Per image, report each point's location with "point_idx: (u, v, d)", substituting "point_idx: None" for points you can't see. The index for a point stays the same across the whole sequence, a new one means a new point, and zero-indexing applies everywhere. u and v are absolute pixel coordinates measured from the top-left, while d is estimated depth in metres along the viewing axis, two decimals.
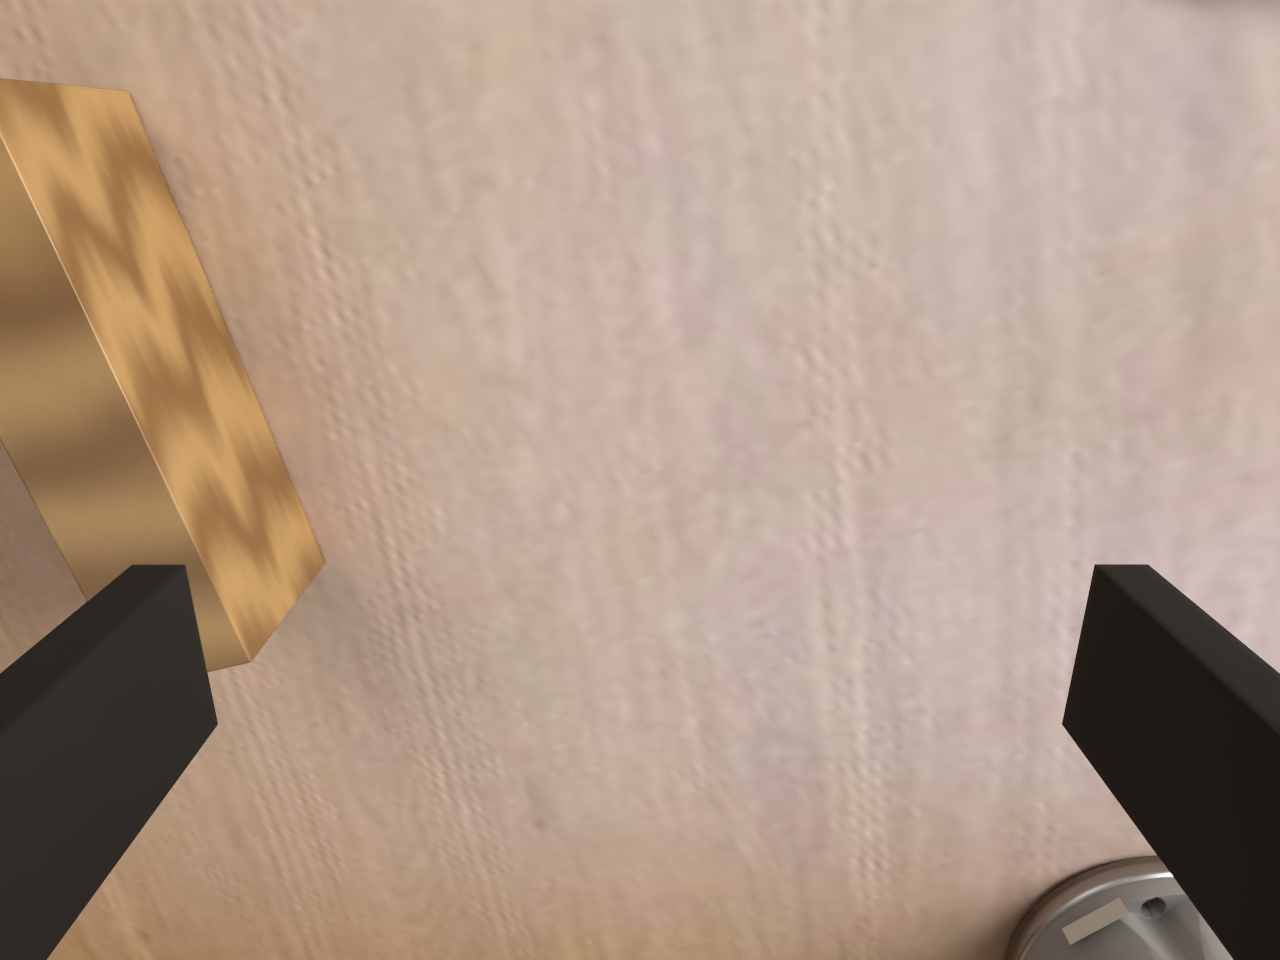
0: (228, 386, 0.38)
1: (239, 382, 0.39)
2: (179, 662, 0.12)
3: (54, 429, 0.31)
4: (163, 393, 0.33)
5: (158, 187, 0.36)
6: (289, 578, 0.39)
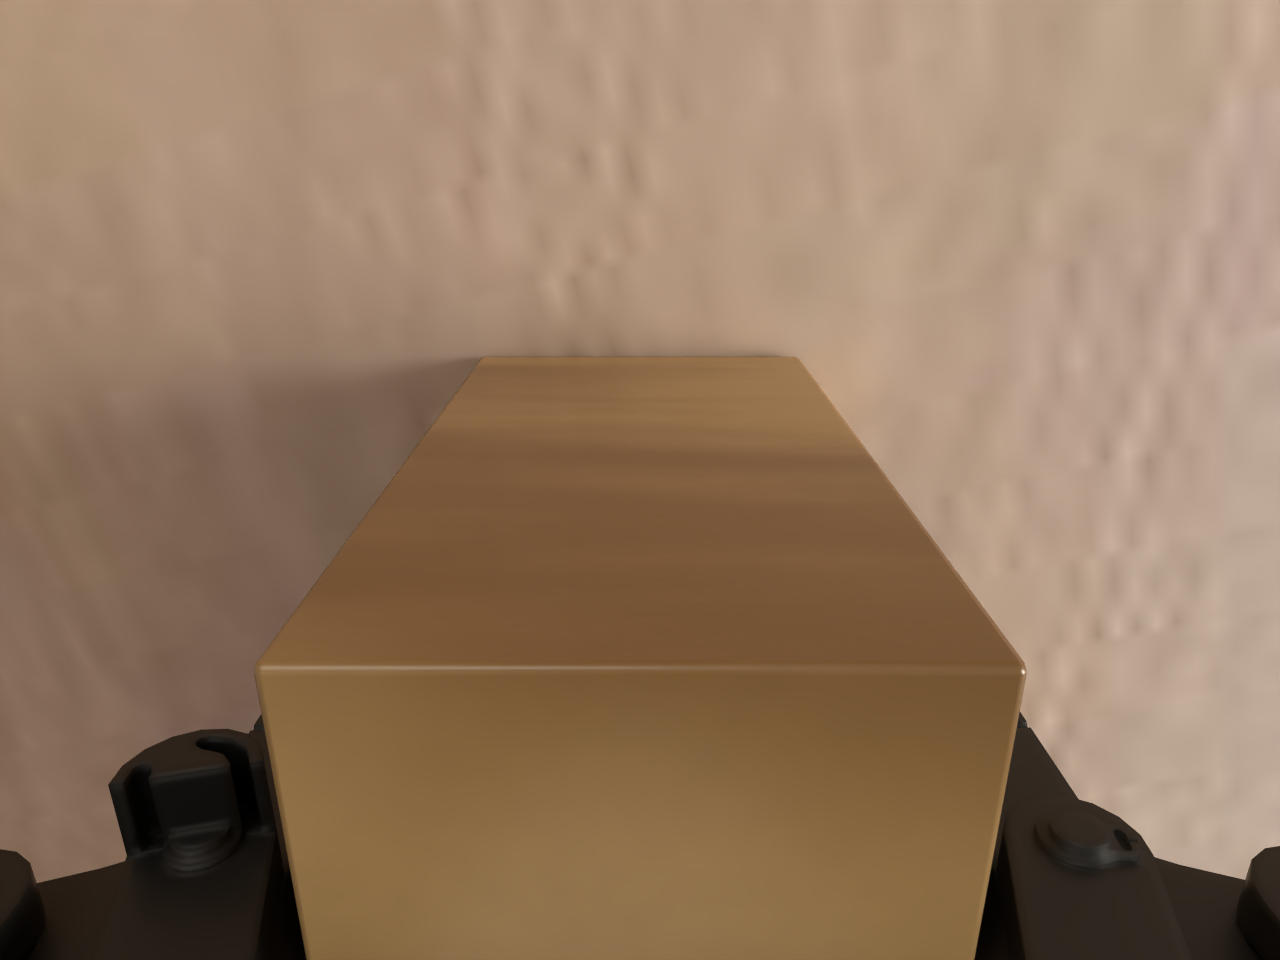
0: None
1: None
2: None
3: None
4: None
5: None
6: None
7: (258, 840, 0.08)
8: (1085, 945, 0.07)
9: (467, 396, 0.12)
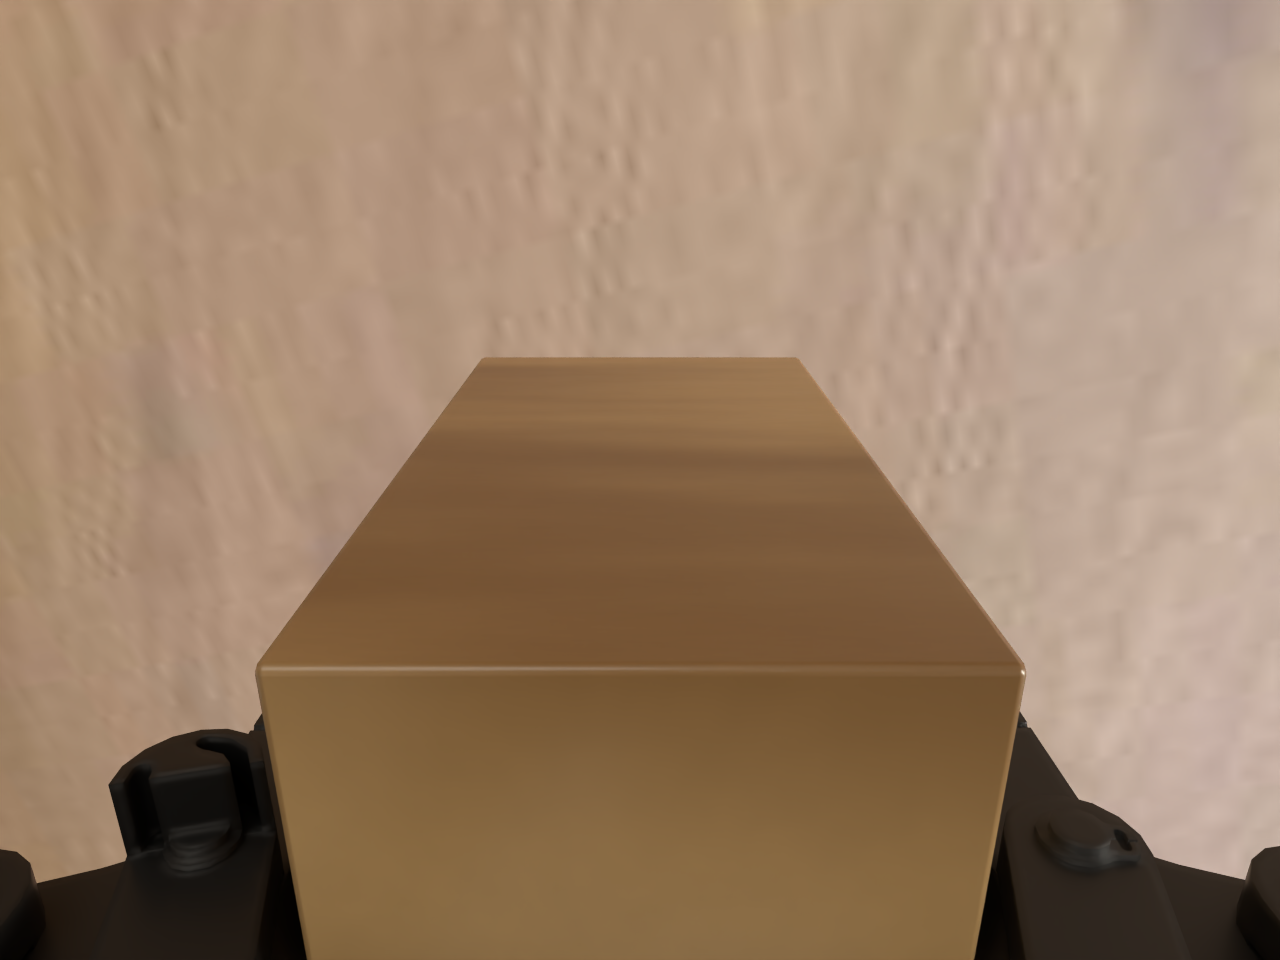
0: None
1: None
2: None
3: None
4: None
5: None
6: None
7: (259, 840, 0.08)
8: (1084, 945, 0.07)
9: (467, 397, 0.12)
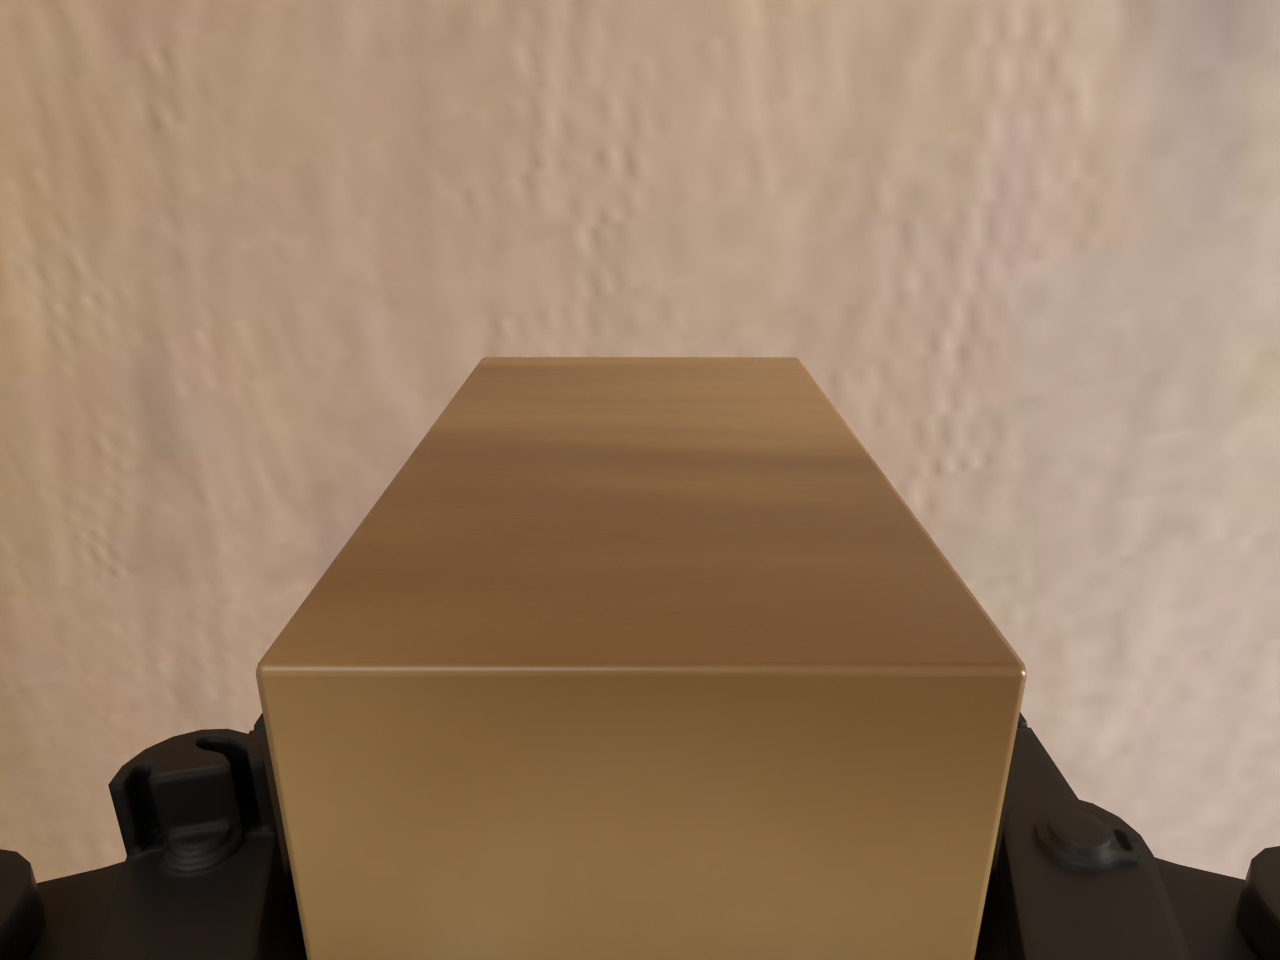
0: None
1: None
2: None
3: None
4: None
5: None
6: None
7: (259, 840, 0.08)
8: (1085, 945, 0.07)
9: (467, 397, 0.12)
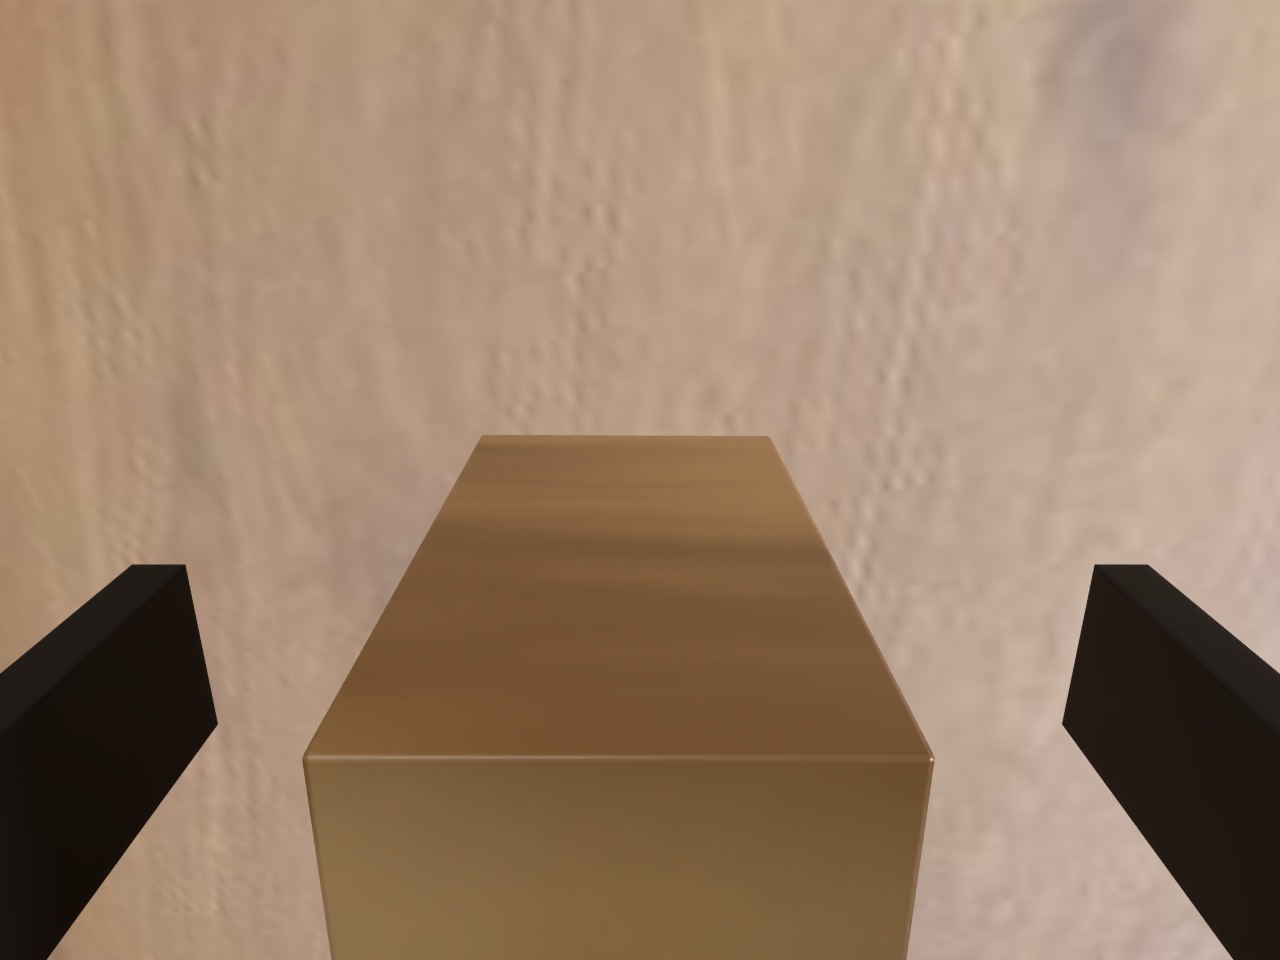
0: None
1: None
2: (179, 662, 0.12)
3: None
4: None
5: None
6: None
7: None
8: None
9: (470, 480, 0.13)
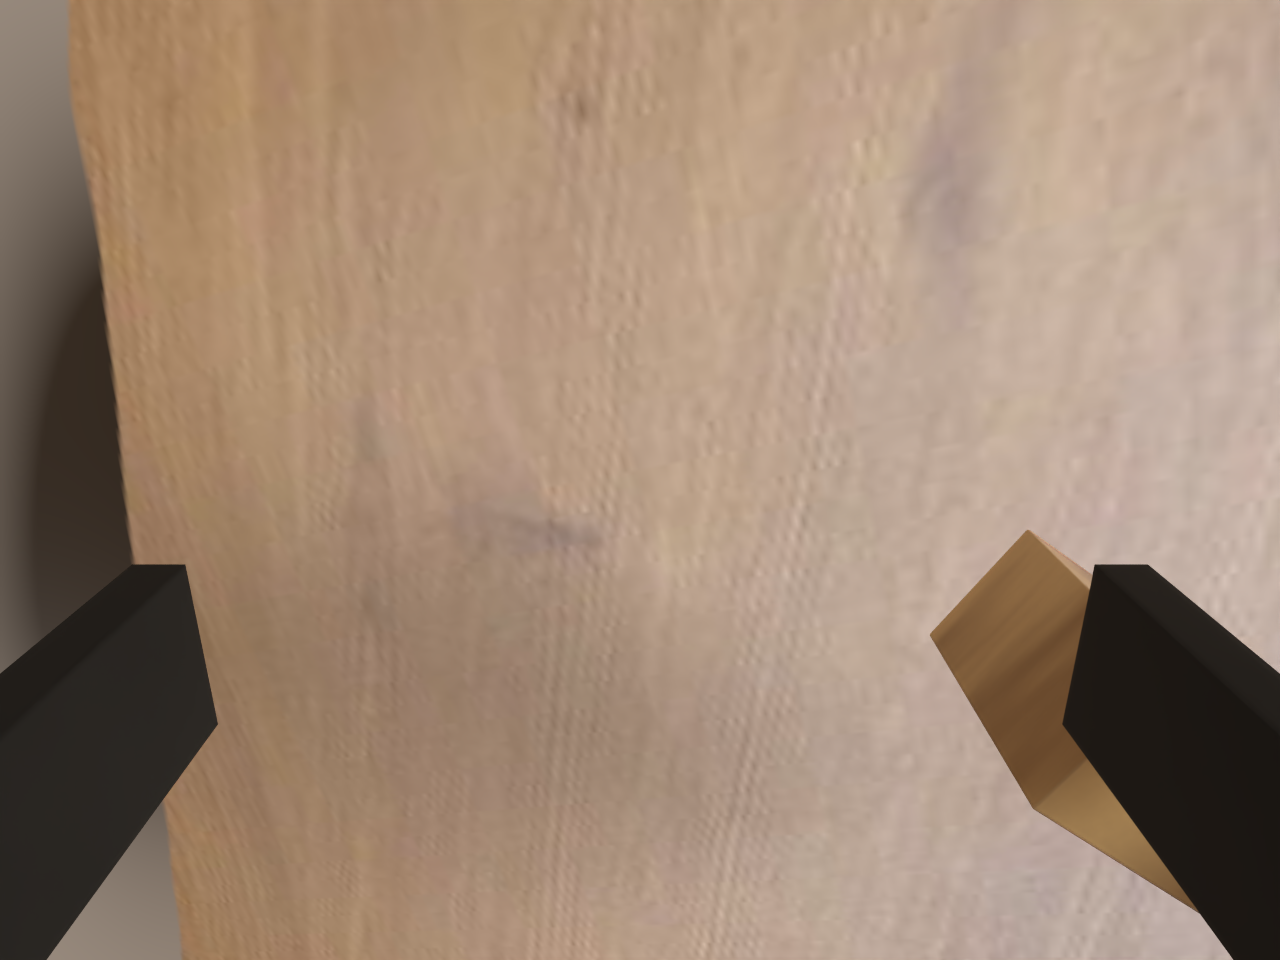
0: None
1: None
2: (179, 662, 0.12)
3: None
4: None
5: None
6: None
7: None
8: None
9: (955, 667, 0.29)
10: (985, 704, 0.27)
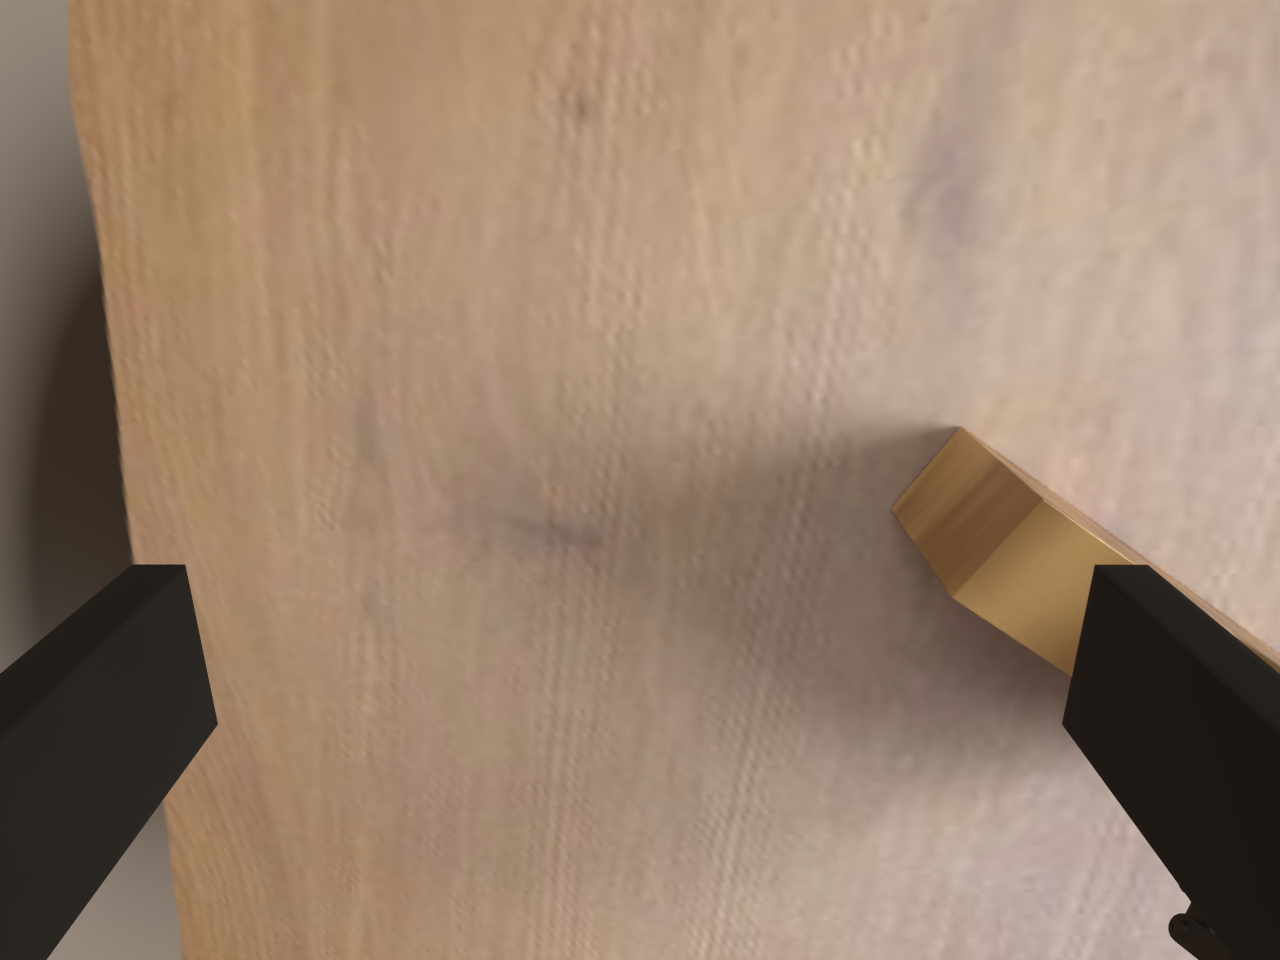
0: (1168, 576, 0.41)
1: (1158, 568, 0.42)
2: (179, 662, 0.12)
3: None
4: (1215, 617, 0.37)
5: (1029, 475, 0.41)
6: None
7: None
8: None
9: (907, 525, 0.40)
10: (925, 544, 0.38)
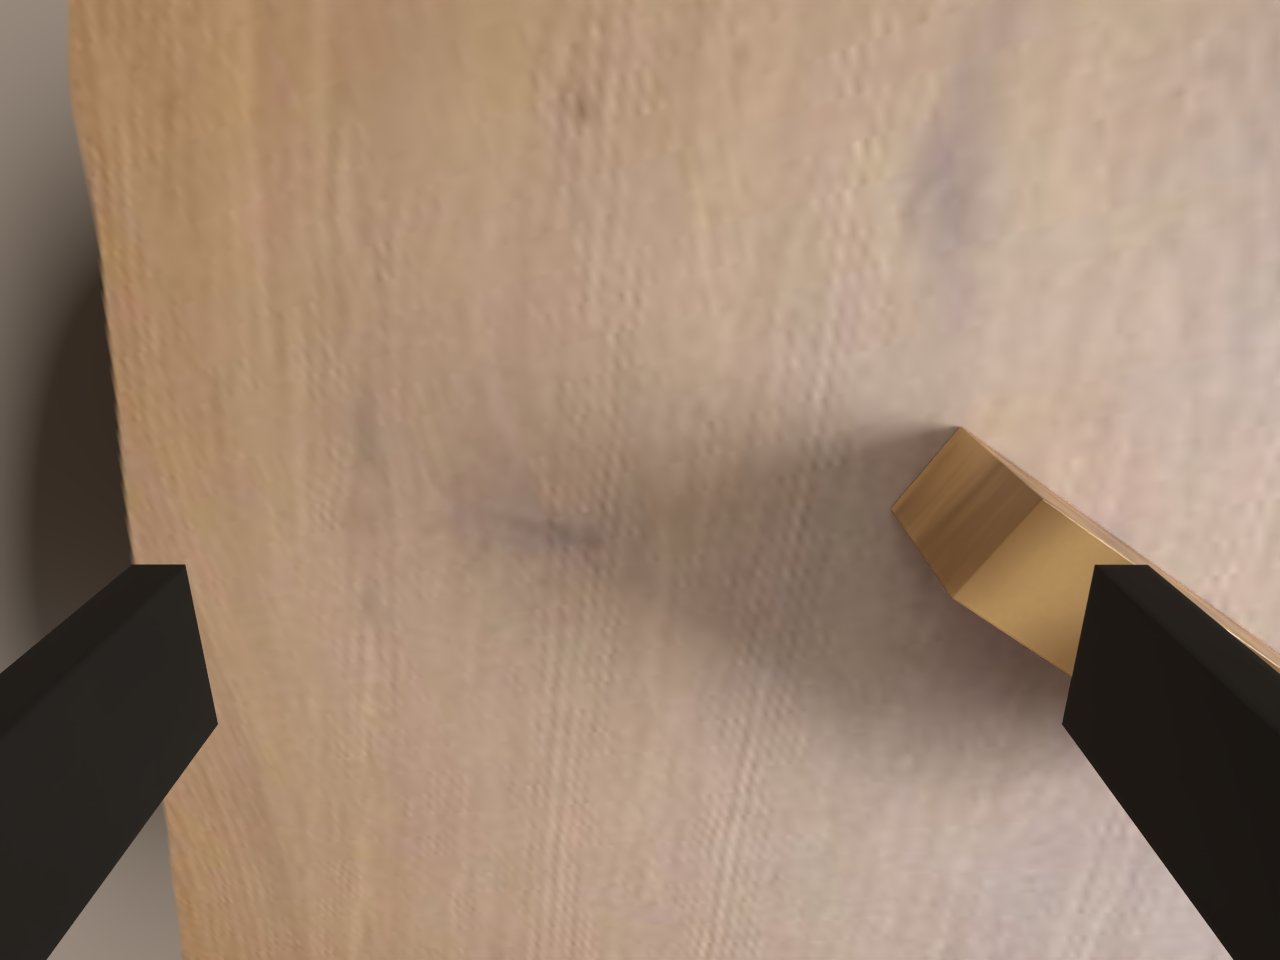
0: (1168, 576, 0.41)
1: (1158, 568, 0.42)
2: (179, 662, 0.12)
3: None
4: (1215, 617, 0.37)
5: (1029, 475, 0.41)
6: None
7: None
8: None
9: (907, 525, 0.40)
10: (925, 544, 0.38)
